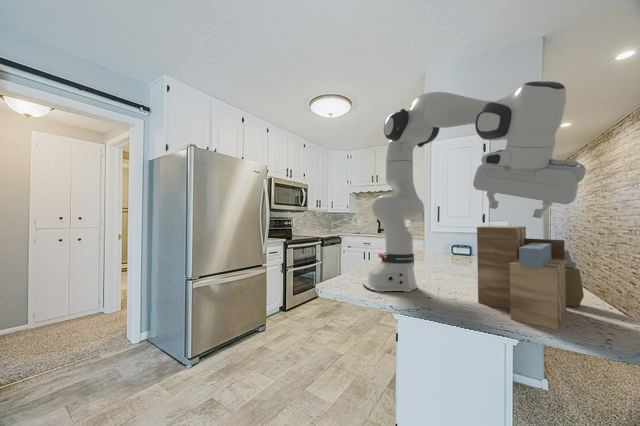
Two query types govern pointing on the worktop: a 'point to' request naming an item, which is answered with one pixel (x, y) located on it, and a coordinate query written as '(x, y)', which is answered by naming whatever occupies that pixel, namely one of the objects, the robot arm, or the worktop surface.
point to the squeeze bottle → (572, 283)
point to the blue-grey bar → (535, 255)
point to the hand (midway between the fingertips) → (514, 212)
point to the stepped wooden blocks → (520, 276)
